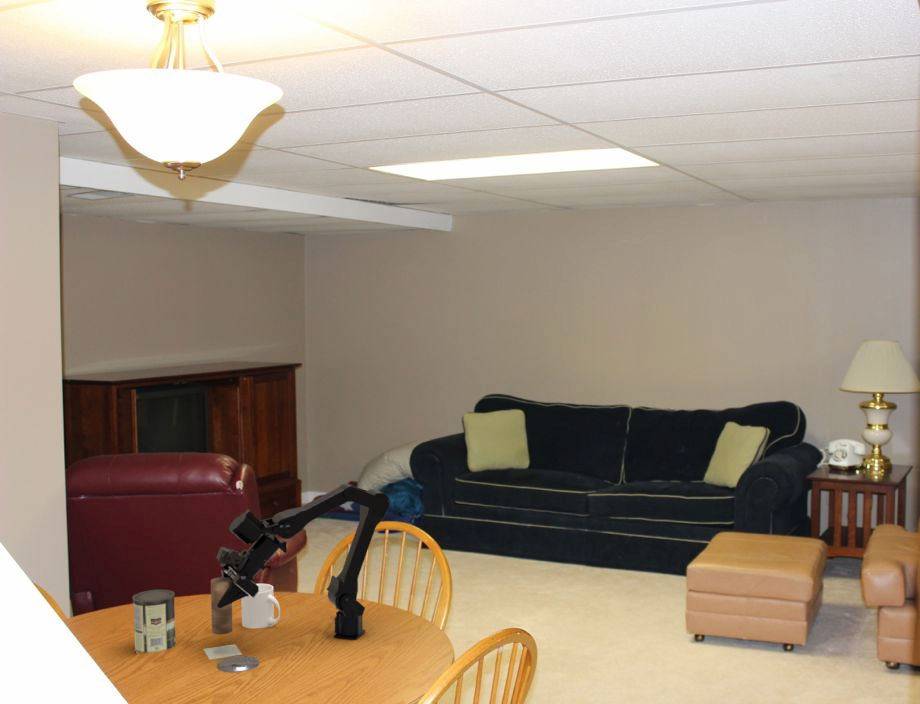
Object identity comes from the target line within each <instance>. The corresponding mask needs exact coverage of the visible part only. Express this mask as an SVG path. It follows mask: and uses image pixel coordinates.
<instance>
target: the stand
mask: <svg viewBox="0 0 920 704" xmlns="http://www.w3.org/2000/svg"><path fill="white" fill-rule="evenodd" d="M203 651H204V653H205V654H206V656H207V658H208V660H210V661H211V660H212V661H213V660H216V659H217V660H218V659H223V658H224V659H225V658H230V657H236V656H241V655H242V656H243V653H242V652H241V651H240V648H238V646H237V645H236V644H235V643H234V644H227V645H221V646H220V645H219V646H215V647H207V648H203Z"/></svg>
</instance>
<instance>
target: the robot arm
mask: <svg viewBox="0 0 920 704" xmlns="http://www.w3.org/2000/svg"><path fill="white" fill-rule="evenodd" d="M348 502H352V503H355V504H358V505H359V522H358V524H357V527H356V530H355V533H354V536H353V539H352V542H351V545H350V547H349V550H348V553H347V556H346V558H345V561H344V564H343V567H342V569H341V572H340V573H339V574H338V575H337V576H335V575H331V577H330V583H329V585H328V586H327V587H326V590H327V591H328V592H327V598H328V601H329V602H331V604H332V605H333V606H334V607H335V609H336V610H337V612H336V613H335V614H336V615H335V617H334V633H335V634H334V635H333V638H336V639H346V640H347V638H348V640H358V639H359V638H360V637H361V636H362V635H364V634H365V632H366V630H365V629H363V628H364V627H363V616H364V612H365V610H366V607H365V606H364V605H363V604H362V603H360V602H359V601H358V600H357V597H358V592H359V576H360V572H361V571H362V567H363V564H364V561H365V560H366V556H367V553H368V551H369V548H370V545H371V543H372V539H373V537H374V533H375V531H376V528H377V526H378V525H379V524H380V523H381V522H382V521H383V520H384V518H385V516H386V514H387V512H388V510H389V509H390V505H391V501H390V498H389V496H387V494H385V493H383V492H382V491H379V490H378V489H375V488H370V489H364V488H360V487H357V486H353V485H352V484H349V483H343V484H341V485H340V486H338V487H337V488H334V489H333V490H330V491H329V492H328V493H325V494H323V495H322V496H319V497H317V498H315V499H313V500H312V501H310V502H308V503H306V504H304V505H302V506H298V507H295V508H290V509H286V510H283V511H280V512H277V513H276V514H274V515H273V517H270V518H266V519H262V520H260V519H258V517H256V516H255V514H254V513H253V512H251V511H250V510H249V509H246V510H245V512H243V513H242V514H239V515H238V517H236V518H235V519H233V521H232V522H231V524H230V525H229V527H228V530H229V532H231V533H232V534H233V535H234V536H236V537H237V538H238V540H241V542H242V543H244V544H245V545H248V544H252V545H251V546H250V547H249V549H248V550H247V549H243V550H242V551H241V552H239V551H238V550H234V549H233V548H232V549H231V548H227V547H224V546H220V547H219V550H218V552H217V555H216V557H215V560H217V562H219V567H221V568H222V569H221V577H228V578H229V588H228V589H227V591H226V592H225V594H224V595H223V597H222V598H221V600H220V601H219V603H218V604H217V607H218V608H222V607H224V606H226V605H228V604H230V603H232V604H233V603H234V602H237V601H238V600H241V598H244V597H246V596H247V597H248V596H249V595H251V596H252V597H253V598H254V597H255V595H256V594H257V593H258V592H259V588H258V586H257V585H256V584H257V583H255V581H256V579H255V577H257V575H258V574H259V572H260V571H261V570H262V571H265V569H266V568H267V566H266V564H268V562H269V561H270V560H271V558H273V556H274V555H275V554H276V553H277V552H278V550H280V551H282V552H283V553H284V554H286V553H288V549H287V543H288V541H286V540H289V539H292V538H293V537H295V536H296V535H298V534H299V533H300V532H301V531H303V530H304V528H305V527H306V526H308V524H309V523H311V522H312V521H314V520H316V519H319V517H322V516H323V515H325V514H327V513H330V512H331V511H333V510H335V509H337V508H338V507H341V506H342V505H344V504H346V503H348ZM264 531H266V532H268V533H269V535H268V534H267V533H266V532H264ZM277 536H278V537H280V538H281V539H283V540H280V539H279V538H278V537H277ZM284 539H285V540H284ZM230 578H231V579H230ZM247 593H248V594H249V595H248V594H247ZM360 635H361V636H360ZM359 636H360V637H359ZM358 637H359V638H358ZM357 638H358V639H357Z"/></svg>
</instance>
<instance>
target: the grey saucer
mask: <svg viewBox="0 0 920 704" xmlns="http://www.w3.org/2000/svg"><path fill="white" fill-rule="evenodd" d="M259 665H260V660H259V659H258V658H257V657H254V656H249V655H242V656H241V655H236V656H230V657H226V658H224V659H222V660H220V661H219V662H217V664H216V668H217V669H218V670H219V671H221V672H224V673H233V674H234V673H244V672H248V671H251V670H253V669H256V668H257V667H258V666H259Z"/></svg>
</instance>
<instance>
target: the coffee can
mask: <svg viewBox="0 0 920 704" xmlns="http://www.w3.org/2000/svg"><path fill="white" fill-rule="evenodd" d="M175 593H176V592H174V591H173V590H170V589H169V590H168V589H150V590H145V591H140V592H138V593H136V594H134V595H133V596H132V603H133V605H132V606H133V607H132V608H133V625H134V626H133V627H134V628H133V629H134V631H133V632H134V652H135V651H136V652H138V654H139V653H159V652H165V651H167V650H169V649H172V648H173V647H175V646H176V644H177V643H176V640H177V639H176V617H175V616H176V613H175V609H176V608H175V607H176V606H175V596H176V594H175Z"/></svg>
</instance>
